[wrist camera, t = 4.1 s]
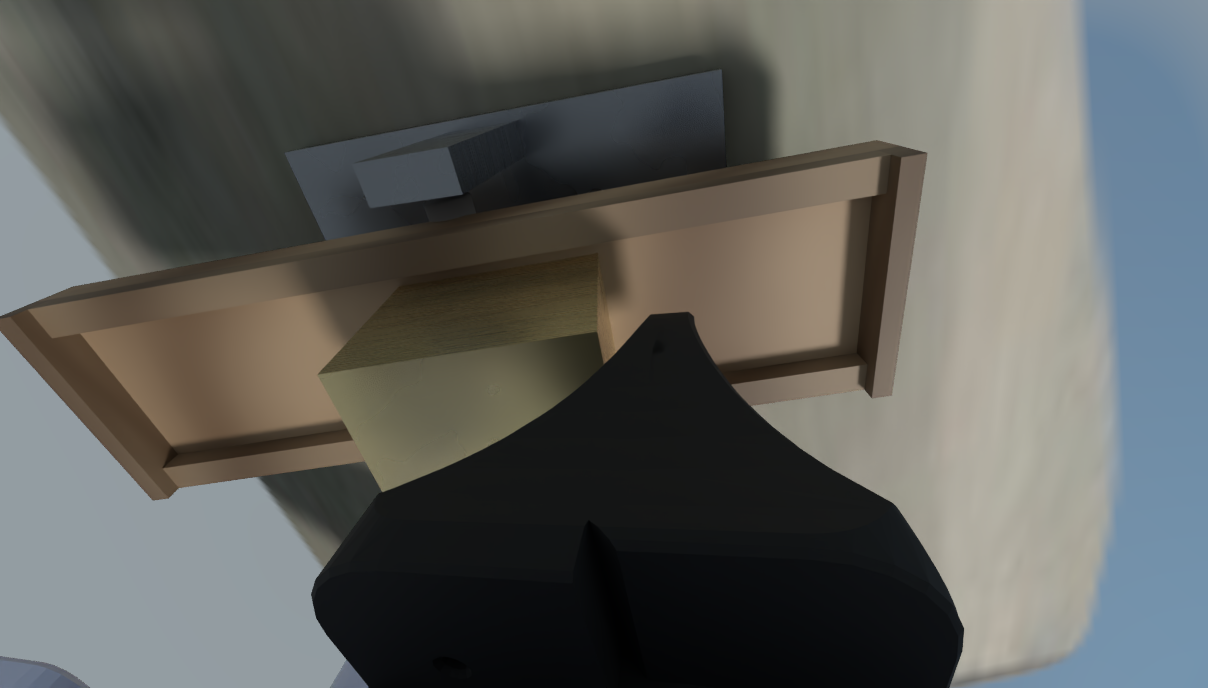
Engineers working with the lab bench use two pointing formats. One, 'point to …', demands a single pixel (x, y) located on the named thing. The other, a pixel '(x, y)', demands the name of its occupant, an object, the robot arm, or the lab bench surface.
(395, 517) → the robot arm
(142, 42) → the lab bench surface
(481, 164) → the pivot stand
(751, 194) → the beam
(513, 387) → the block
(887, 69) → the lab bench surface
